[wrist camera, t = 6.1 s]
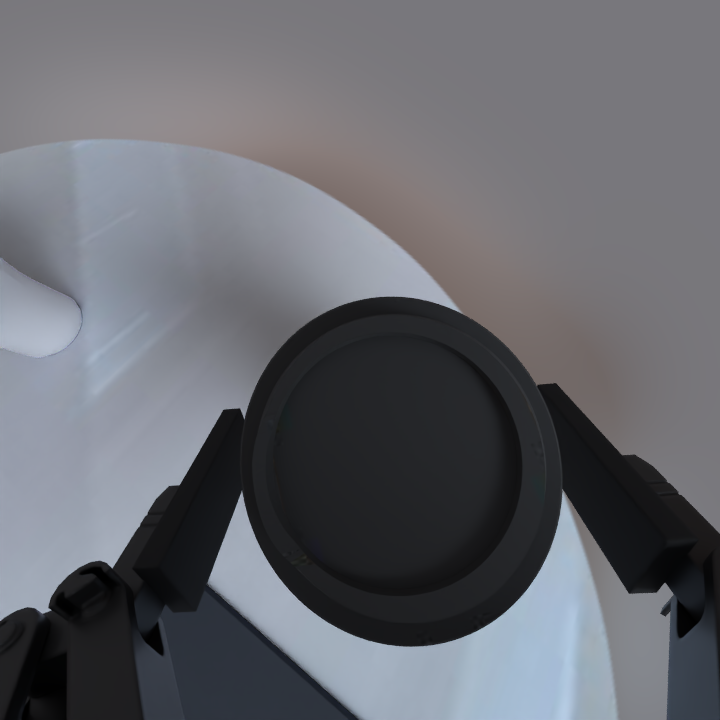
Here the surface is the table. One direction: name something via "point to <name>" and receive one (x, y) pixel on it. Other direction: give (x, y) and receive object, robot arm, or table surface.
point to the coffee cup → (401, 471)
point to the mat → (238, 670)
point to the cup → (34, 315)
